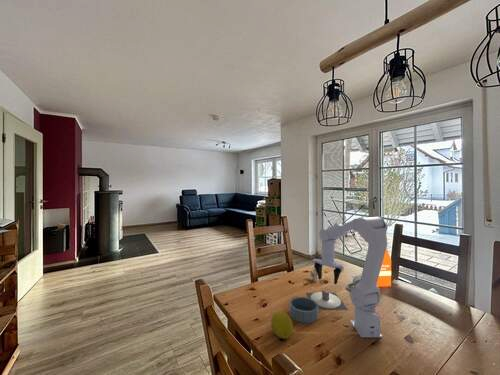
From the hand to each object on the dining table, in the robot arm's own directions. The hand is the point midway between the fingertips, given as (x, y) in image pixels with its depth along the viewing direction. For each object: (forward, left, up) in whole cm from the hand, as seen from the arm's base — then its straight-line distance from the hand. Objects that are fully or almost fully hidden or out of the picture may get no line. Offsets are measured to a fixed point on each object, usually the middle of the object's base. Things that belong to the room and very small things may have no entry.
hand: (327, 281), depth 107 cm
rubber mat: (-1, +2, -9) cm, 10 cm away
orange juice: (+19, -35, -10) cm, 41 cm away
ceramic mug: (+10, -19, -10) cm, 24 cm away
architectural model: (+22, +1, -10) cm, 24 cm away
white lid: (-1, +2, -9) cm, 9 cm away
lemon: (-24, +26, -10) cm, 37 cm away
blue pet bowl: (-12, +15, -9) cm, 21 cm away
